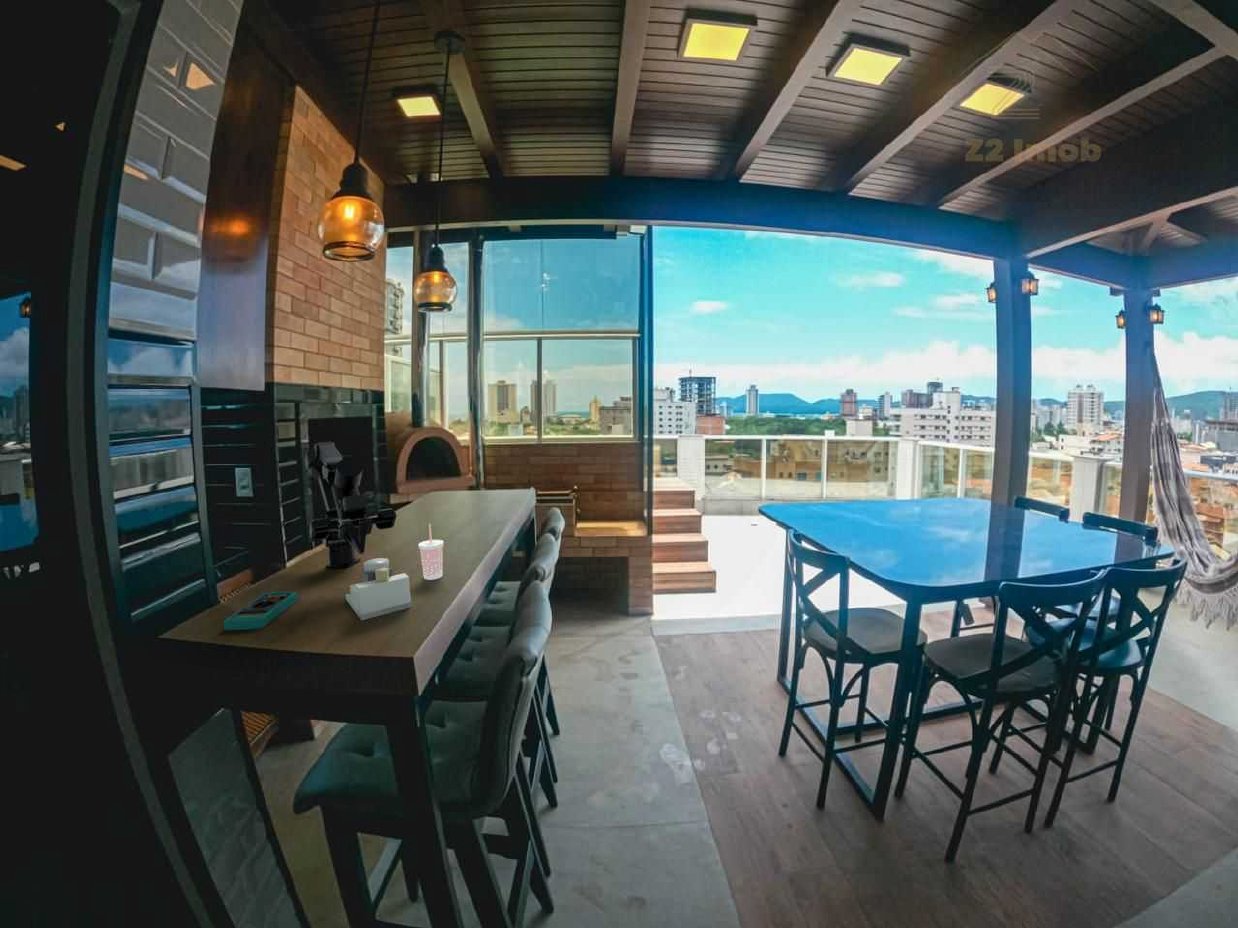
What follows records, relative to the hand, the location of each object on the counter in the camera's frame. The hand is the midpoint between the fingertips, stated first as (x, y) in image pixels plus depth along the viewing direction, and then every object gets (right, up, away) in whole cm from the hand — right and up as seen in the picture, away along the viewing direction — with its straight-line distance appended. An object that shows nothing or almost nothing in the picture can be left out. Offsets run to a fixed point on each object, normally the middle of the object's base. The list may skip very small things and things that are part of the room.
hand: (362, 552), depth 119 cm
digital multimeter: (-15, -12, -12) cm, 23 cm away
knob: (+8, -9, -9) cm, 15 cm away
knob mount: (+7, -10, -7) cm, 15 cm away
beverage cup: (+14, -8, +9) cm, 18 cm away
